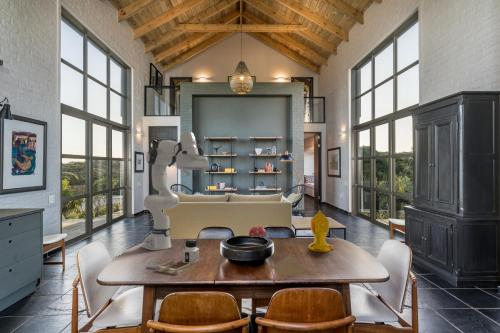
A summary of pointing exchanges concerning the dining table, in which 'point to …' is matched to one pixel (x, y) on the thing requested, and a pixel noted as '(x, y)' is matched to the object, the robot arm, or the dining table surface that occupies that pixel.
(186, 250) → the container
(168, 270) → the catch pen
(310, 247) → the yellow statue
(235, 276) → the dining table surface
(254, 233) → the decorative mushroom
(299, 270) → the model pyramid
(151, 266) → the slate tile
